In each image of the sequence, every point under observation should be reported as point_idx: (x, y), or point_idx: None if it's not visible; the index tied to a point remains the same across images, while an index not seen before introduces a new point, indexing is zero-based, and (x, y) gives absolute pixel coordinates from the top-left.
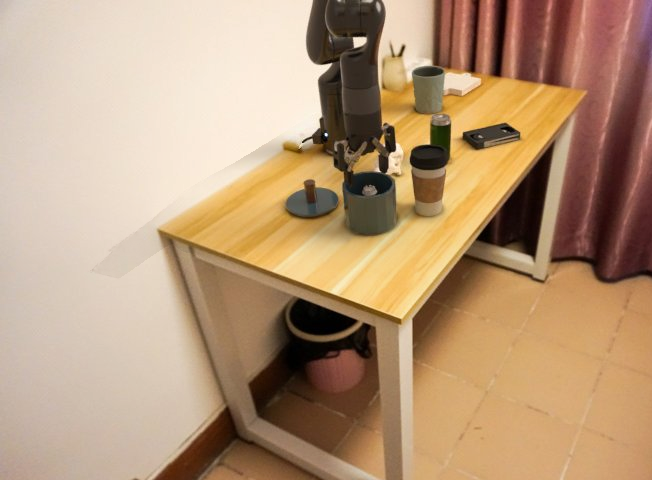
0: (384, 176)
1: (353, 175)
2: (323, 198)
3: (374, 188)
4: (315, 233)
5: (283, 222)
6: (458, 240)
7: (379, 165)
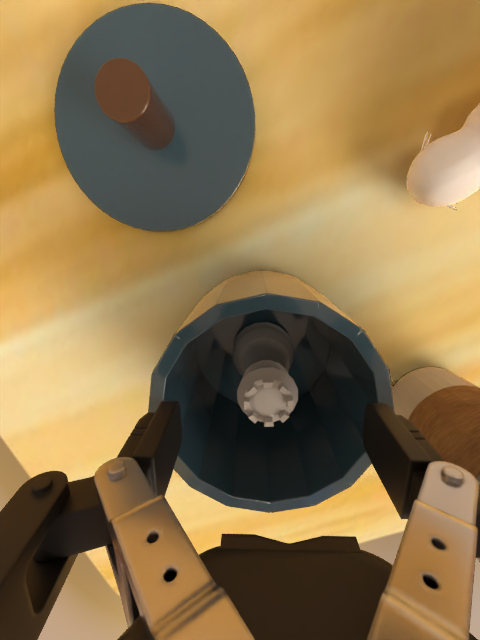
0: (373, 393)
1: (165, 487)
2: (196, 142)
3: (282, 421)
4: (97, 296)
5: (31, 173)
6: (370, 533)
7: (378, 422)
